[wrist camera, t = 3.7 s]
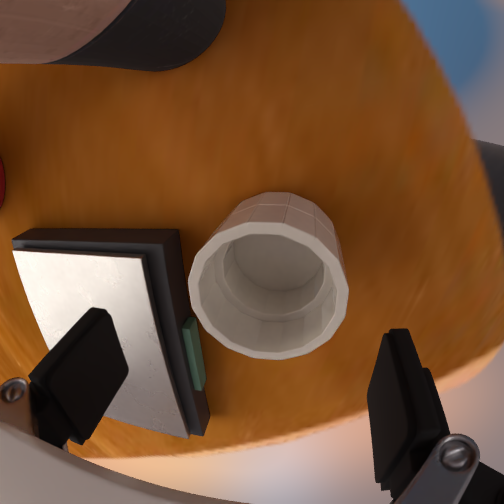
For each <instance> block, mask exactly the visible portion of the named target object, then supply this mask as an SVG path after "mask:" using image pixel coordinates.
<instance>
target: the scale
mask: <svg viewBox="0 0 504 504" xmlns="http://www.w3.org/2000/svg"><path fill="white" fill-rule="evenodd" d="M12 244H13V247H14V249H15V248H17V247H20V248H37V249H55V250H74V251H93V252H112V253H132V254H146V259H147V265H148V270H149V275H150V280H151V286H152V290H153V295H154V300H155V305H156V309H157V314H158V318H159V323H160V327H161V331H162V335H163V339H164V343H165V347H166V351H167V355H168V359H169V363H170V367H171V370H172V374H173V378H174V381H175V385H176V388H177V392H178V395H179V399H180V402H181V405H182V408H183V412H184V415H185V418H186V421H187V424H188V427H189V430H190V434H194V435H199V436H204V433H205V430H206V428H207V425H208V422H209V419H210V414H209V409H208V404H207V400H206V395H205V390H204V384H205V381H206V379H207V378H206V373H205V367H204V362H203V356H202V350H201V344H200V338H199V332H198V326H197V319H196V317H191V314H190V308H189V302H188V295H187V289H186V282H185V275H184V268H183V260H182V253H181V245H180V237H179V230H178V229H29V230H27V231H25V232H24V233H22V234H20V235H18V236H17V237H15V238H13V239H12Z"/></svg>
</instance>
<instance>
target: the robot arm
mask: <svg viewBox="0 0 504 504" xmlns="http://www.w3.org/2000/svg"><path fill="white" fill-rule="evenodd" d="M128 373H129V367H128V364H127V361H126V358H125V356H124V353H123V350H122V347H121V344H120V341H119V338H118V335H117V332H116V329H115V326H114V323H113V319H112V317H111V315H110V314H109V313H108V311H107V310H106V309H102V308H96V307H91V308H90V309H89V310H88V311H87V312H86V313H85V314H84V315H83V316H82V317H81V318H80V319H79V320H78V321H77V322H76V323H75V324H74V325H73V326H72V327H71V329H70V330H69V331H68V332H67V333H66V334H65V335H64V336H63V337H62V338H61V339H60V340H59V341H58V343H57V344H56V345H55V346H54V347H53V348H52V349H51V350H50V351H49V353H48V354H47V355H46V356H45V357H44V358H43V359H42V360H41V362H40V363H39V364H38V365H37V366H36V367H35V368H34V370H33V371H32V372H31V373H30V374H29V375H28V377H29V378H30V380H31V382H30V384H28V382H27V381H26V380H25V379H23V378H20V377H16V378H12V379H9V380H7V381H6V382H4V383H3V384H2V385H1V386H0V504H249V503H241V502H234V501H228V500H222V499H216V498H211V497H206V496H200V495H196V494H191V493H186V492H182V491H178V490H174V489H170V488H166V487H162V486H159V485H155V484H152V483H149V482H145V481H142V480H139V479H135V478H133V477H129V476H126V475H124V474H121V473H118V472H115V471H112V470H110V469H107V468H104V467H102V466H99V465H96V464H94V463H91V462H89V461H87V460H84V459H82V458H80V457H77V456H75V455H73V454H71V453H69V451H68V446H67V440H68V439H70V440H71V441H73V442H75V443H77V444H80V445H83V443H84V442H85V440H87V439H89V438H90V437H91V435H92V433H93V432H94V430H95V428H96V427H97V425H98V423H99V422H100V420H101V418H102V417H103V415H104V413H105V412H106V410H107V408H108V407H109V405H110V403H111V402H112V400H113V399H114V397H115V395H116V394H117V392H118V390H119V389H120V387H121V386H122V384H123V382H124V381H125V379H126V377H127V376H128ZM367 402H368V410H369V418H370V427H371V437H372V448H373V458H374V472H375V481H376V483H381V491H384V490H390V492H391V497H392V498H393V500H392V501H391V502H390V504H504V475H503V474H501V473H499V472H497V471H496V470H494V469H492V468H490V467H488V466H487V465H485V464H483V463H481V462H480V461H479V460H480V451H479V448H478V446H477V444H476V443H475V442H474V440H473V439H471V438H470V437H468V436H466V435H462V434H450V431H449V427H448V424H447V421H446V417H445V414H444V411H443V407H442V405H441V401H440V398H439V395H438V392H437V389H436V386H435V383H434V380H433V377H432V375H431V372H430V370H429V369H428V368H422V366H421V363H420V360H419V357H418V354H417V351H416V349H415V346H414V343H413V341H412V338H411V335H410V333H409V330H408V329H390V330H389V333H385V334H384V335H383V338H382V341H381V345H380V349H379V353H378V357H377V360H376V364H375V367H374V371H373V374H372V378H371V381H370V384H369V387H368V392H367Z"/></svg>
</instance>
